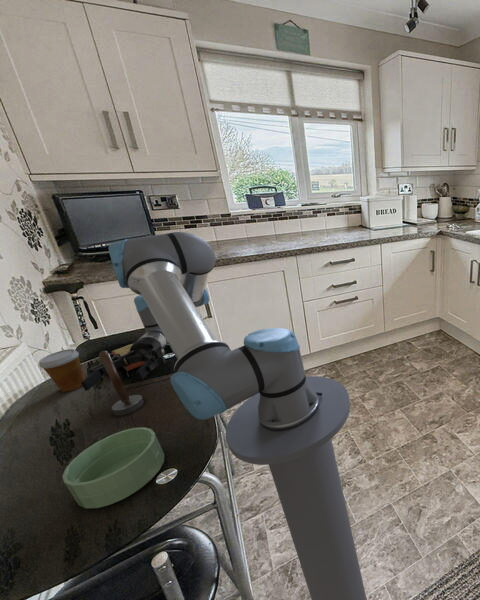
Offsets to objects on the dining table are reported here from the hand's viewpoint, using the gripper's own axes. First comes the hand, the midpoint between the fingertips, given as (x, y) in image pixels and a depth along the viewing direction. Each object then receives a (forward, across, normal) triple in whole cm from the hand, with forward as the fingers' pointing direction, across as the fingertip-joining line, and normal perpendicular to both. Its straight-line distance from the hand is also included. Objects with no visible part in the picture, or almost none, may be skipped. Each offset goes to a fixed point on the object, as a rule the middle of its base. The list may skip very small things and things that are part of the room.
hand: (112, 381), depth 91 cm
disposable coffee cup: (-24, +27, -10) cm, 37 cm away
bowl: (+28, -13, -10) cm, 32 cm away
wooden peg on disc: (-1, 0, -10) cm, 10 cm away
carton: (-36, +14, -10) cm, 40 cm away
